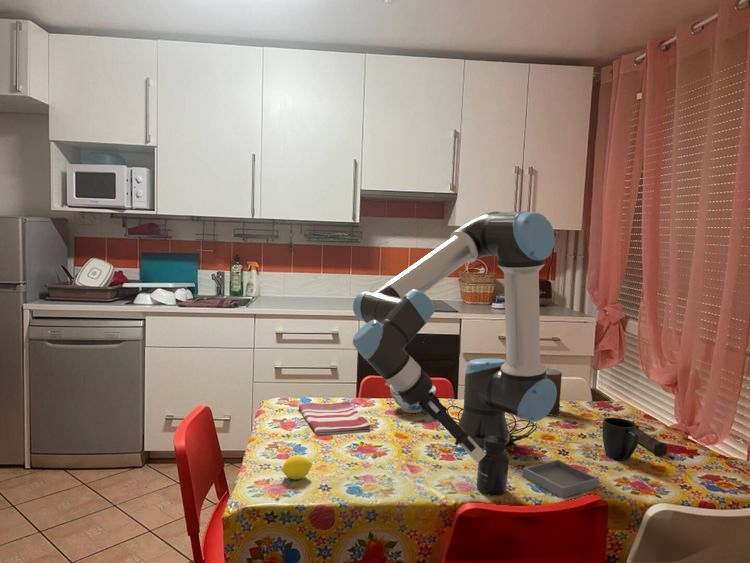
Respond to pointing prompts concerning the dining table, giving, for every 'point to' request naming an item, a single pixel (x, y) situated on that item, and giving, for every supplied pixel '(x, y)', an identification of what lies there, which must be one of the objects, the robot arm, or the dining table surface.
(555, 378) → the pillar candle
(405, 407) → the chinaware
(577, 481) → the tray
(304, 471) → the lemon
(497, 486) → the supplement bottle
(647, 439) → the hand tool
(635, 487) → the dining table surface
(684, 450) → the dining table surface
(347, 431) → the dish towel
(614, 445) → the mug
